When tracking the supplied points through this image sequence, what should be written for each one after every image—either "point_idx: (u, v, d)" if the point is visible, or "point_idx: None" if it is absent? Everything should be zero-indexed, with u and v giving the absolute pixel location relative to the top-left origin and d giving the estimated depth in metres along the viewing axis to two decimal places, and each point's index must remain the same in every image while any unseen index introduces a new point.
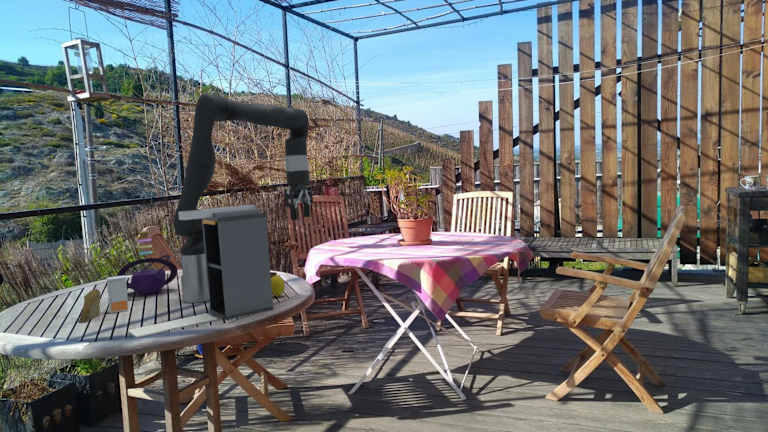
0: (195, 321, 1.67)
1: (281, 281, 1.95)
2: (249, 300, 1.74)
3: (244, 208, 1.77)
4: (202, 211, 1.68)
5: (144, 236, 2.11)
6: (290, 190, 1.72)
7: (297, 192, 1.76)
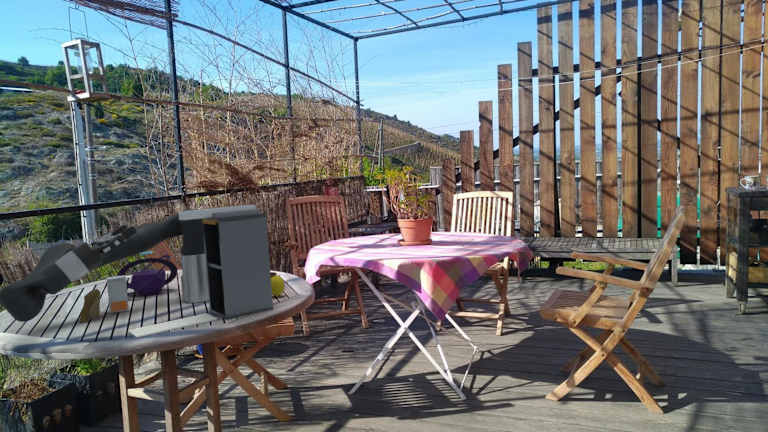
0: (195, 321, 1.67)
1: (281, 281, 1.95)
2: (249, 300, 1.74)
3: (244, 208, 1.77)
4: (202, 211, 1.68)
5: None
6: None
7: None
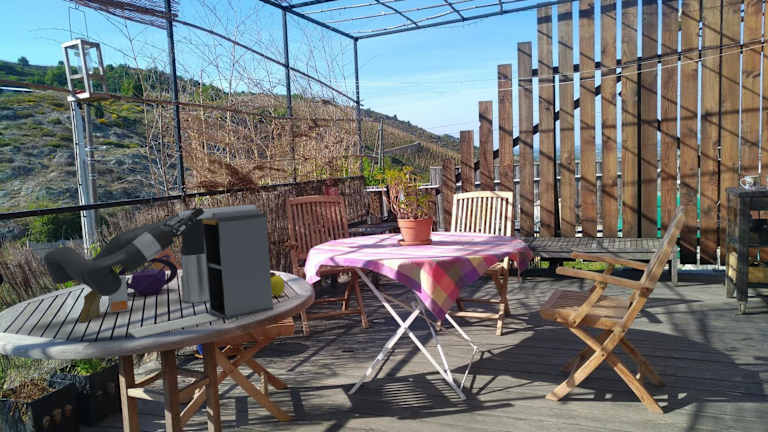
0: (195, 321, 1.67)
1: (281, 281, 1.95)
2: (249, 300, 1.74)
3: (244, 208, 1.77)
4: None
5: None
6: None
7: None
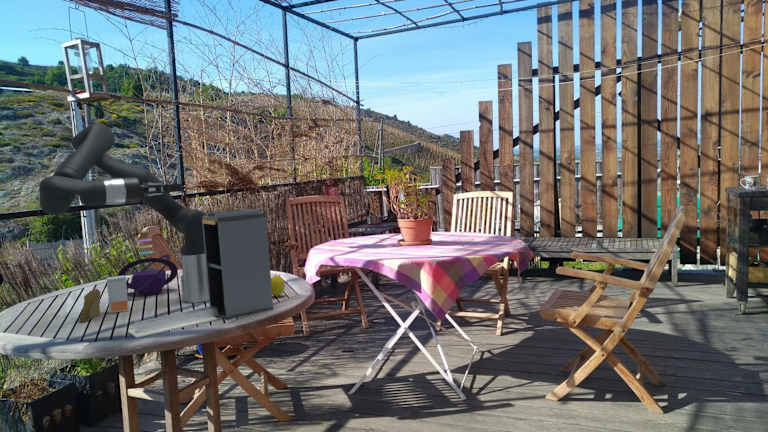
0: (195, 321, 1.67)
1: (281, 281, 1.95)
2: (249, 300, 1.74)
3: None
4: None
5: (144, 236, 2.11)
6: (151, 186, 1.54)
7: None
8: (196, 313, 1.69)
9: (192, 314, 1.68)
